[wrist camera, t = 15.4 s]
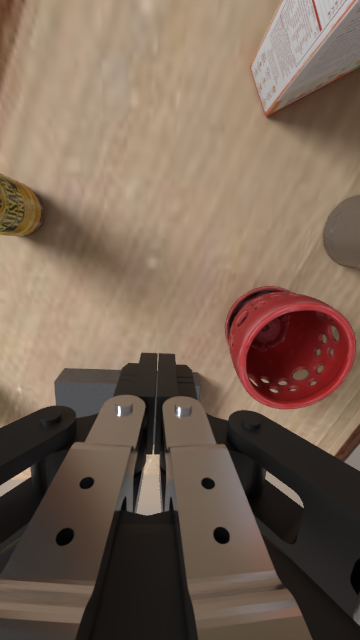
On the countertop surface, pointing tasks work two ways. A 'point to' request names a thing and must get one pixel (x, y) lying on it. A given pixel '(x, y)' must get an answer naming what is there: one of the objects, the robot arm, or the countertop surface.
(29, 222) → the sauce bottle
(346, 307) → the countertop surface
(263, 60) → the cracker box
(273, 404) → the plant pot
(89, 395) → the jig
